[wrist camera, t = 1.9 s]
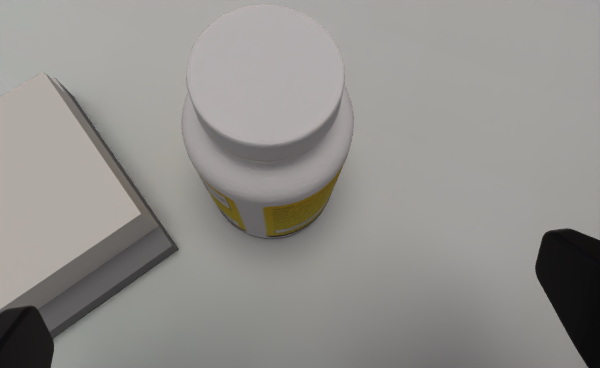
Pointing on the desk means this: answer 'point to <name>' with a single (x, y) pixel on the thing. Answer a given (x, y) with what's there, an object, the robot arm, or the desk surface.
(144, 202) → the rail plate
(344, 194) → the desk surface
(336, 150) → the supplement bottle
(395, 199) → the desk surface
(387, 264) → the desk surface
